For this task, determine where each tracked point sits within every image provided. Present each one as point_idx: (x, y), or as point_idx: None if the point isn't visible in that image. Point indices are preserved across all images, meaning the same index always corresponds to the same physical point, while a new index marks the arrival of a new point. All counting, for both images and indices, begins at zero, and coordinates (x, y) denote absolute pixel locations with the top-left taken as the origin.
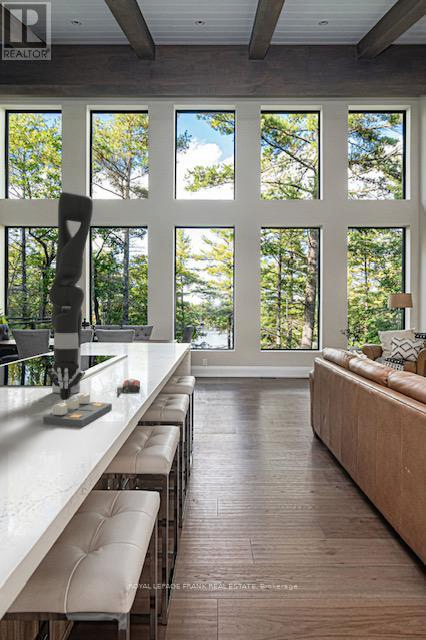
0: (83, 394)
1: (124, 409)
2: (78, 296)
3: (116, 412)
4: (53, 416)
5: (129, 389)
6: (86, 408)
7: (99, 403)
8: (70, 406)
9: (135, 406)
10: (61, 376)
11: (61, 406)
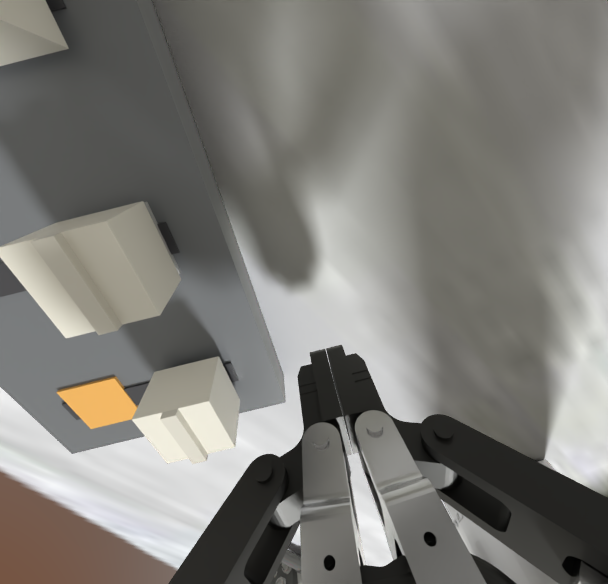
0: (173, 432)
1: (47, 449)
2: None
3: (16, 402)
4: None
5: (273, 581)
6: None
7: (130, 425)
8: (80, 218)
9: (63, 494)
10: (415, 572)
11: None
